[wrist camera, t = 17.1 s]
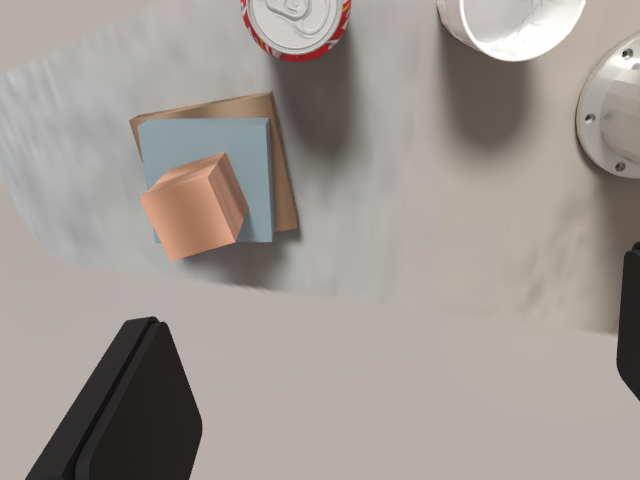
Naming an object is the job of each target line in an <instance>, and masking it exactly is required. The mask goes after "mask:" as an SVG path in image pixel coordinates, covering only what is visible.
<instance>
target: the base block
mask: <svg viewBox="0 0 640 480" xmlns="http://www.w3.org/2000/svg"><path fill="white" fill-rule="evenodd" d="M176 118H269V122H270V141H271V160H272V179H273V199H274V218H275V231H274V232H280V231H286V230H292V229H298V222H299V217H298V212H297V208H296V203H295V198H294V193H293V188H292V184H291V179H290V174H289V169H288V164H287V159H286V155H285V150H284V145H283V140H282V135H281V131H280V126H279V121H278V116H277V111H276V107H275V102H274V97H273V92H272V91H270V92H264V93H259V94H253V95H248V96H242V97H237V98H231V99H226V100H220V101H215V102H209V103H204V104H198V105H193V106H187V107H182V108H176V109H171V110H165V111H160V112H154V113H149V114H143V115H138V116H136V117H135V118H133V119H131V120H129V122H130V125H131V128H132V131H133V134H134V137H135V140H136V143H137V146H138V150H139V153H140V156H141V159H142V153H141V147H140V140H139V134H138V128H137V126H139V125H140V124H142V123H143V122H145V121H147V120H148V119H176ZM142 162H143V159H142Z"/></svg>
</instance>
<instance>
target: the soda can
mask: <svg viewBox="0 0 640 480" xmlns="http://www.w3.org/2000/svg"><path fill="white" fill-rule="evenodd" d="M241 10H242V15H243V19H244V22H245V25H246V27H247V29H248V31H249V33H250V35H251V36H252V38H253V39H254V40H255V42H256V43H257V44H258V45H259V46H260V47H261V48H262V49H263V50H265V51H266V52H267V53H269V54H270V55H272V56H274V57H276V58H279V59H282V60H285V61H291V62H303V61H309V60H312V59H315V58H318V57H320V56H321V55H323V54H325V53H326V52H328V51H329V50H330V49H332V47H333V46H334V45H335V44H336V43H337V42H338V41H339V39H340V38H341V36H342V35H343V33H344V31H345V29H346V27H347V24H348V21H349V17H350V11H351V0H241Z"/></svg>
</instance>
